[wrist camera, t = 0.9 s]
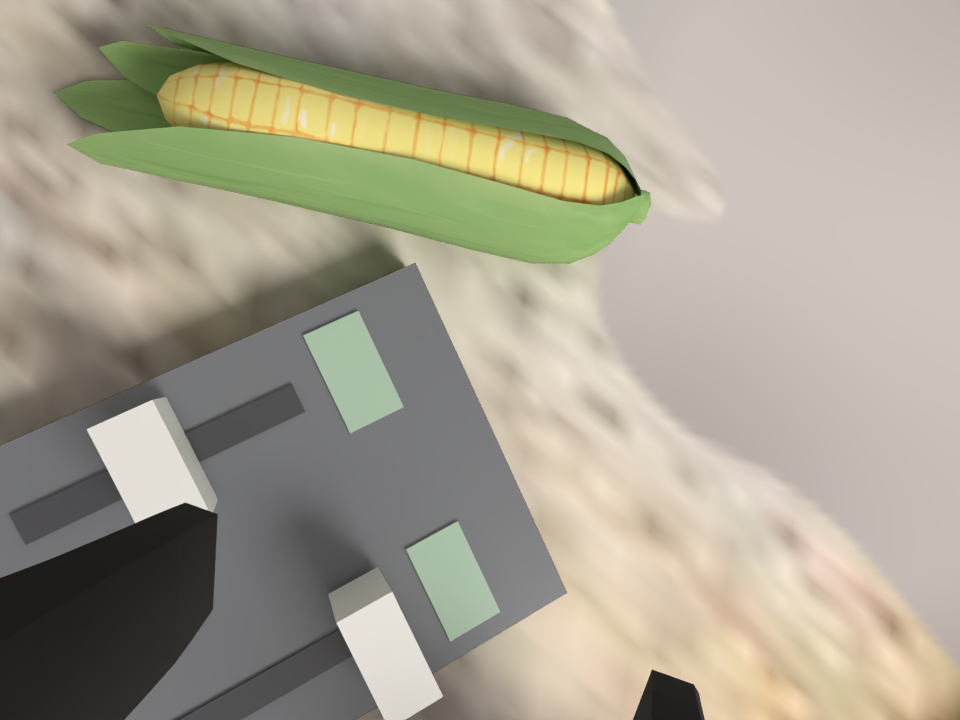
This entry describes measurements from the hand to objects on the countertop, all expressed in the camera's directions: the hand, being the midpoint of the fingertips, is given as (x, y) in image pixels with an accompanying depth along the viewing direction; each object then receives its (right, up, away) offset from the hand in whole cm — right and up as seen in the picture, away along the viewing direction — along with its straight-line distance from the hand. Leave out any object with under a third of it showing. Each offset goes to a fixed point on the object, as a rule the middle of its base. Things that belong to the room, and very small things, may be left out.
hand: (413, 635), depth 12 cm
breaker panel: (-8, -2, +14) cm, 16 cm away
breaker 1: (-9, +1, +12) cm, 15 cm away
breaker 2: (-2, -5, +13) cm, 14 cm away
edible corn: (-3, +11, +16) cm, 20 cm away
